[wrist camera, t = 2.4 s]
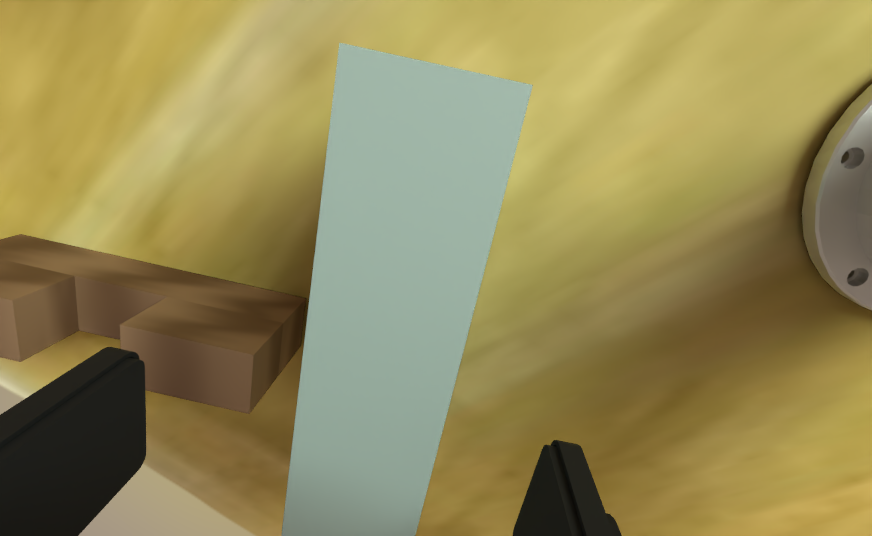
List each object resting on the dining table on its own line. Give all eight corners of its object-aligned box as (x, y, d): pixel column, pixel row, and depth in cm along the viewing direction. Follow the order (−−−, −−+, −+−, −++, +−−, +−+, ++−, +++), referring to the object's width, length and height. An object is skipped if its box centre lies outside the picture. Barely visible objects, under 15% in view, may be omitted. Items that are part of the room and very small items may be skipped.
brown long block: (305, 298, 24) (253, 354, 18) (300, 346, 25) (249, 413, 19) (20, 234, 24) (-121, 270, 18) (26, 284, 25) (-106, 333, 19)
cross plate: (428, 92, 20) (340, 43, 7) (493, 106, 20) (532, 84, 7) (374, 385, 25) (264, 680, 12) (424, 396, 25) (371, 705, 12)
